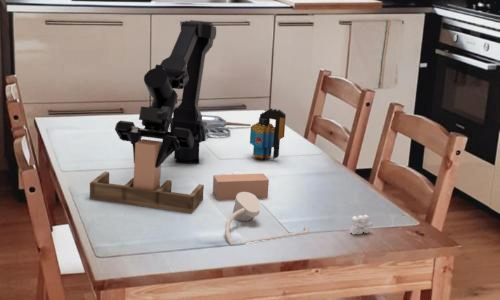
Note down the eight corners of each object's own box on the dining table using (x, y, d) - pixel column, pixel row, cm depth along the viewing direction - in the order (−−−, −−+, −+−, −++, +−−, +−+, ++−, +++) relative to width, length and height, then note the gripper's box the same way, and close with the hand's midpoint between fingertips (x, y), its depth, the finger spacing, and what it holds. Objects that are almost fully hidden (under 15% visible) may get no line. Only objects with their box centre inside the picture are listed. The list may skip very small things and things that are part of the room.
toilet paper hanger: (232, 244, 176) (203, 197, 188) (228, 261, 179) (199, 213, 190) (312, 231, 186) (279, 186, 197) (306, 247, 189) (274, 202, 200)
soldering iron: (170, 144, 247) (162, 125, 261) (259, 149, 255) (247, 130, 269) (173, 126, 244) (164, 107, 259) (262, 132, 253) (250, 113, 267)
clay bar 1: (140, 190, 202) (142, 139, 199) (159, 193, 201) (162, 141, 198) (132, 195, 198) (135, 143, 195) (152, 198, 196) (155, 145, 194)
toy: (245, 159, 234) (248, 108, 229) (258, 150, 242) (261, 101, 238) (277, 165, 231) (280, 113, 226) (288, 156, 239) (292, 106, 235)
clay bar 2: (262, 191, 210) (263, 173, 209) (267, 198, 206) (268, 180, 204) (212, 193, 207) (213, 175, 206) (216, 201, 203) (217, 181, 201)
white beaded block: (352, 235, 186) (355, 217, 185) (348, 233, 187) (352, 214, 186) (370, 234, 188) (373, 216, 187) (367, 232, 189) (370, 214, 188)
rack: (104, 186, 207) (104, 171, 206) (203, 200, 202) (203, 184, 201) (89, 198, 199) (89, 182, 197) (192, 213, 193) (192, 197, 192)
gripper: (117, 88, 198) (99, 145, 191) (192, 96, 194) (176, 154, 187) (129, 111, 208) (112, 166, 201) (200, 120, 204) (185, 176, 197)
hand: (145, 165), depth 196 cm, fingers closed on clay bar 1, 5 cm apart
